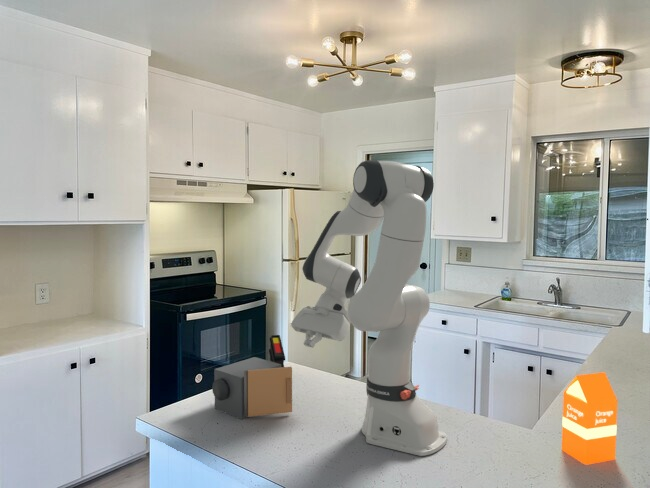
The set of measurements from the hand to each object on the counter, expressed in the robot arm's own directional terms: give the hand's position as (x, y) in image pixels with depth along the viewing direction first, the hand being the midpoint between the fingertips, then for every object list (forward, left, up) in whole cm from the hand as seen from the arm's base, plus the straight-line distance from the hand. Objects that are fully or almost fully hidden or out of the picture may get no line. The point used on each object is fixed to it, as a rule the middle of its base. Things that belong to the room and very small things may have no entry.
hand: (308, 345), depth 153 cm
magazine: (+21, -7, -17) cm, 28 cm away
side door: (0, +17, -16) cm, 23 cm away
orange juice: (-75, -17, -17) cm, 79 cm away
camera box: (+11, +15, -17) cm, 25 cm away
